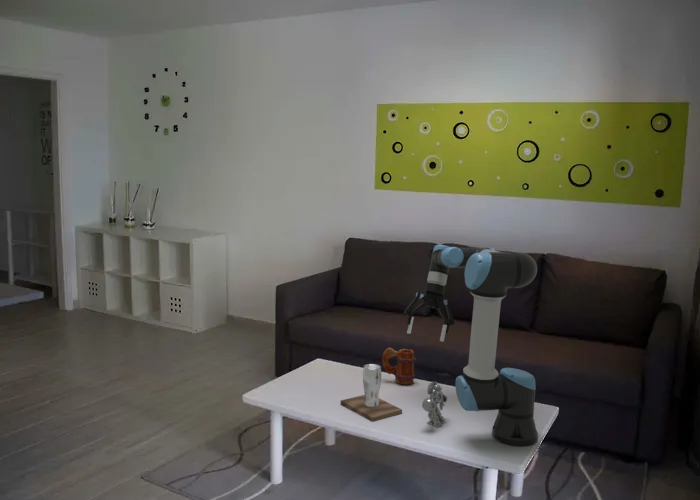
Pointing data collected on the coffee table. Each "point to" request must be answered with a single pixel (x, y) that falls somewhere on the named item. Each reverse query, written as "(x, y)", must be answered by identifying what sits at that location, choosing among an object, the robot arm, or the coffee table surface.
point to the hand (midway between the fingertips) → (425, 337)
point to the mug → (400, 365)
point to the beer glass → (371, 385)
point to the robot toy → (434, 404)
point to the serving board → (371, 413)
